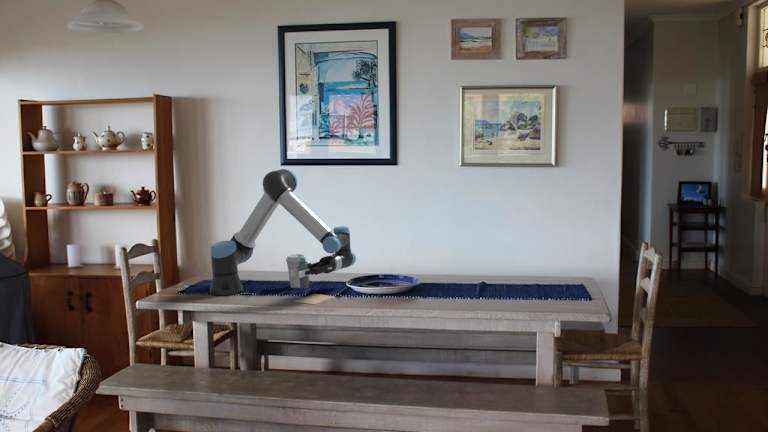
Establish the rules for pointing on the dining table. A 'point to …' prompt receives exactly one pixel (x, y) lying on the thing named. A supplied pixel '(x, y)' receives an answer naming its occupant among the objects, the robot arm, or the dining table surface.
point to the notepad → (314, 299)
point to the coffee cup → (292, 265)
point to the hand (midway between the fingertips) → (295, 274)
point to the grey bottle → (305, 280)
